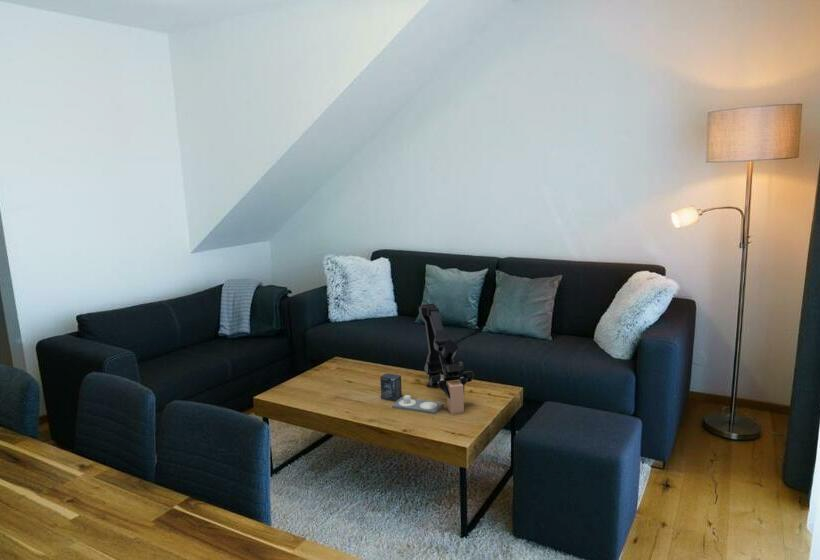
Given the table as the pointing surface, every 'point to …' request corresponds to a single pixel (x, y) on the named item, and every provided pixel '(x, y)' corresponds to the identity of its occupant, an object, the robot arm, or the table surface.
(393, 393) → the box
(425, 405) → the plate
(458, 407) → the pink block
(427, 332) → the robot arm
